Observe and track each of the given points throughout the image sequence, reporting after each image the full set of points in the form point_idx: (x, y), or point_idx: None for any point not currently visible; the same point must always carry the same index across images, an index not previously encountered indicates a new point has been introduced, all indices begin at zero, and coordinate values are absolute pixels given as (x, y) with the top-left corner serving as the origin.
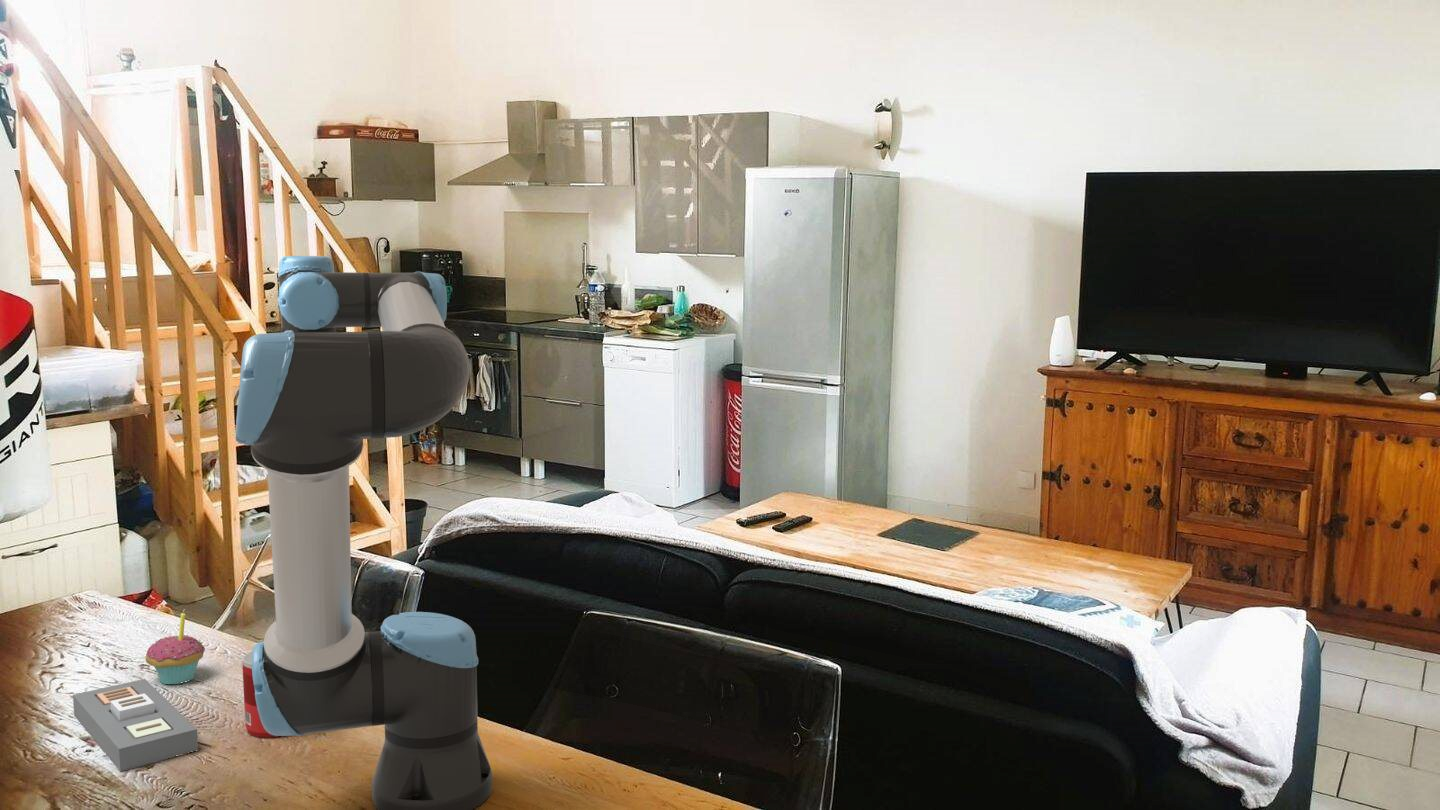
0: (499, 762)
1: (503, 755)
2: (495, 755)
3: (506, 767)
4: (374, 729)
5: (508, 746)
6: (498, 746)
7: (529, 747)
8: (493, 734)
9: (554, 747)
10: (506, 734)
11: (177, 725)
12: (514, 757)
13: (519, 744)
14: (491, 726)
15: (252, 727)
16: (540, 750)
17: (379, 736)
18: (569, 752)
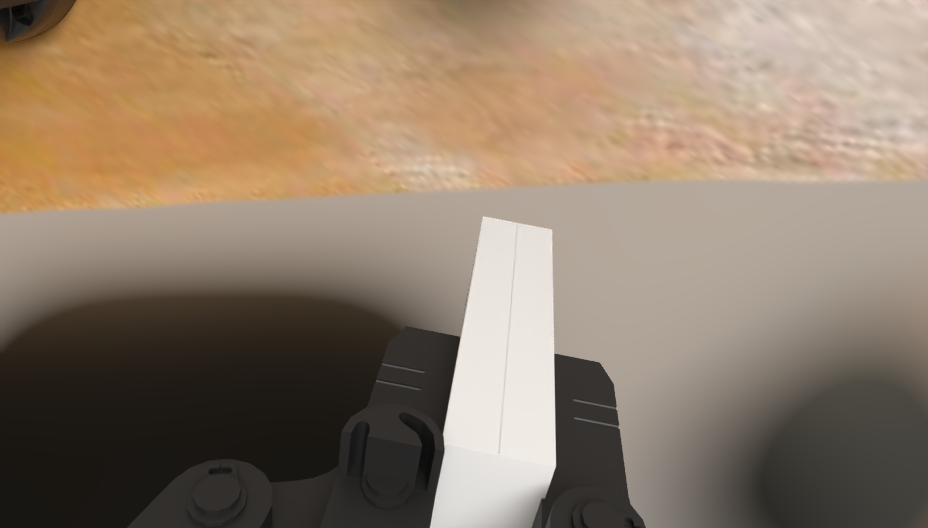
0: (34, 99)
1: (59, 124)
2: (67, 115)
3: (7, 93)
4: (337, 33)
5: (92, 157)
6: (102, 145)
7: (67, 178)
8: (158, 176)
9: (43, 205)
10: (143, 190)
11: None
12: (40, 132)
13: (89, 175)
14: (194, 198)
15: None
16: (44, 181)
17: (295, 17)
18: (10, 206)
